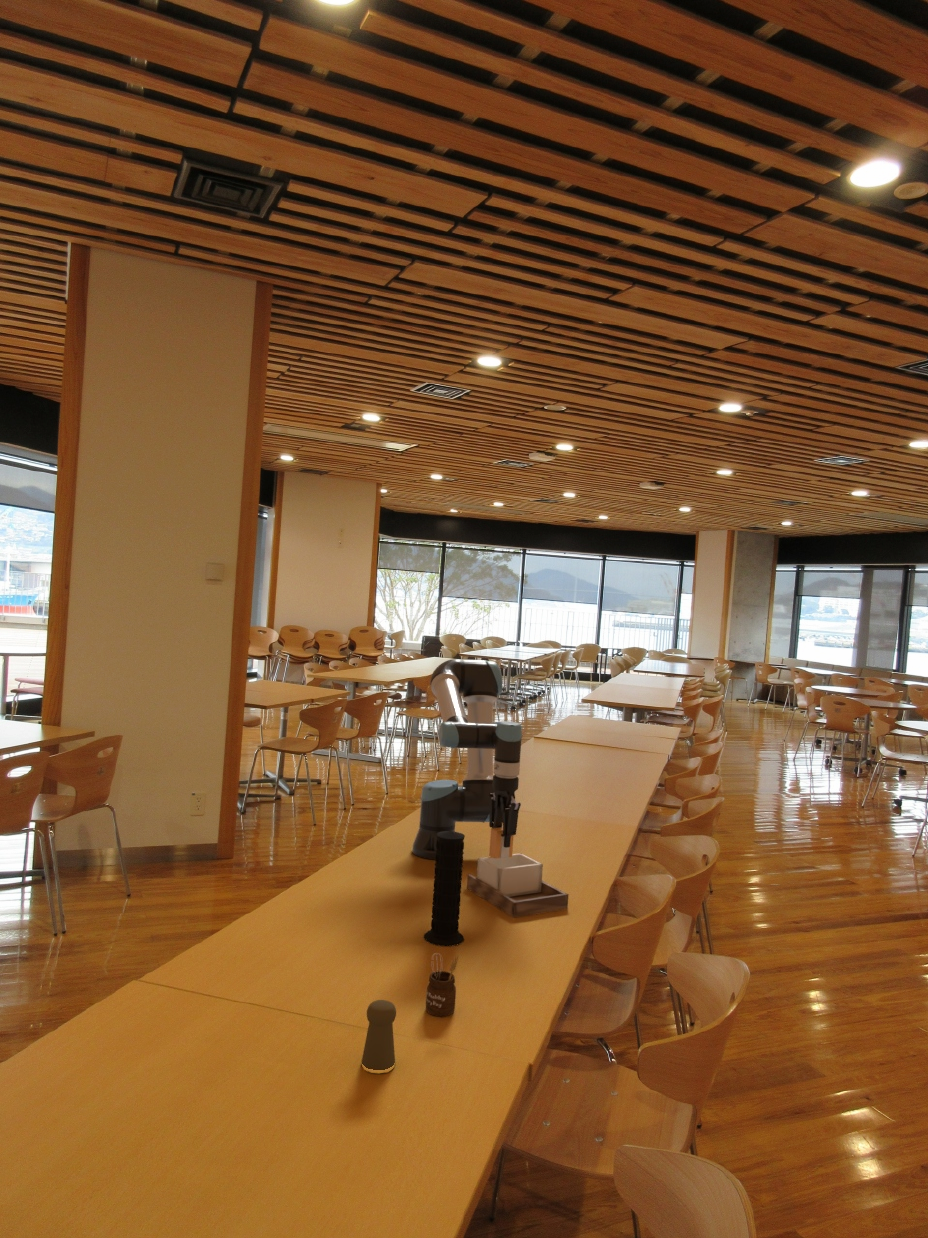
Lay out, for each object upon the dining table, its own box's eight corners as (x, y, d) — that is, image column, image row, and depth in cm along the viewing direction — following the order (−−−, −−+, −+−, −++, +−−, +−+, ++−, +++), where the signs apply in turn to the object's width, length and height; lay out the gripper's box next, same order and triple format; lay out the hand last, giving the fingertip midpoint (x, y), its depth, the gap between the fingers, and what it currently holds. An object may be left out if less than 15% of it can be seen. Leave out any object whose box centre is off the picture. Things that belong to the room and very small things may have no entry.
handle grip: (419, 943, 207) (459, 949, 205) (426, 833, 206) (467, 838, 204) (429, 927, 217) (468, 933, 215) (435, 823, 216) (475, 828, 214)
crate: (474, 884, 247) (477, 829, 247) (517, 879, 255) (520, 825, 255) (496, 898, 237) (500, 841, 237) (540, 892, 245) (544, 836, 244)
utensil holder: (438, 1000, 178) (442, 943, 178) (461, 1011, 174) (465, 952, 174) (419, 1010, 173) (423, 951, 173) (442, 1021, 169) (446, 961, 169)
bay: (466, 888, 248) (467, 874, 248) (518, 881, 257) (518, 868, 257) (513, 917, 227) (514, 902, 227) (567, 909, 237) (568, 894, 237)
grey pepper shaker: (361, 1055, 155) (365, 995, 155) (395, 1056, 155) (399, 996, 155) (360, 1074, 149) (364, 1011, 149) (395, 1074, 149) (399, 1012, 149)
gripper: (480, 770, 254) (475, 849, 255) (510, 782, 240) (505, 865, 241) (501, 769, 258) (496, 847, 259) (532, 780, 244) (527, 862, 245)
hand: (500, 855), depth 250 cm, fingers closed on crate, 3 cm apart
